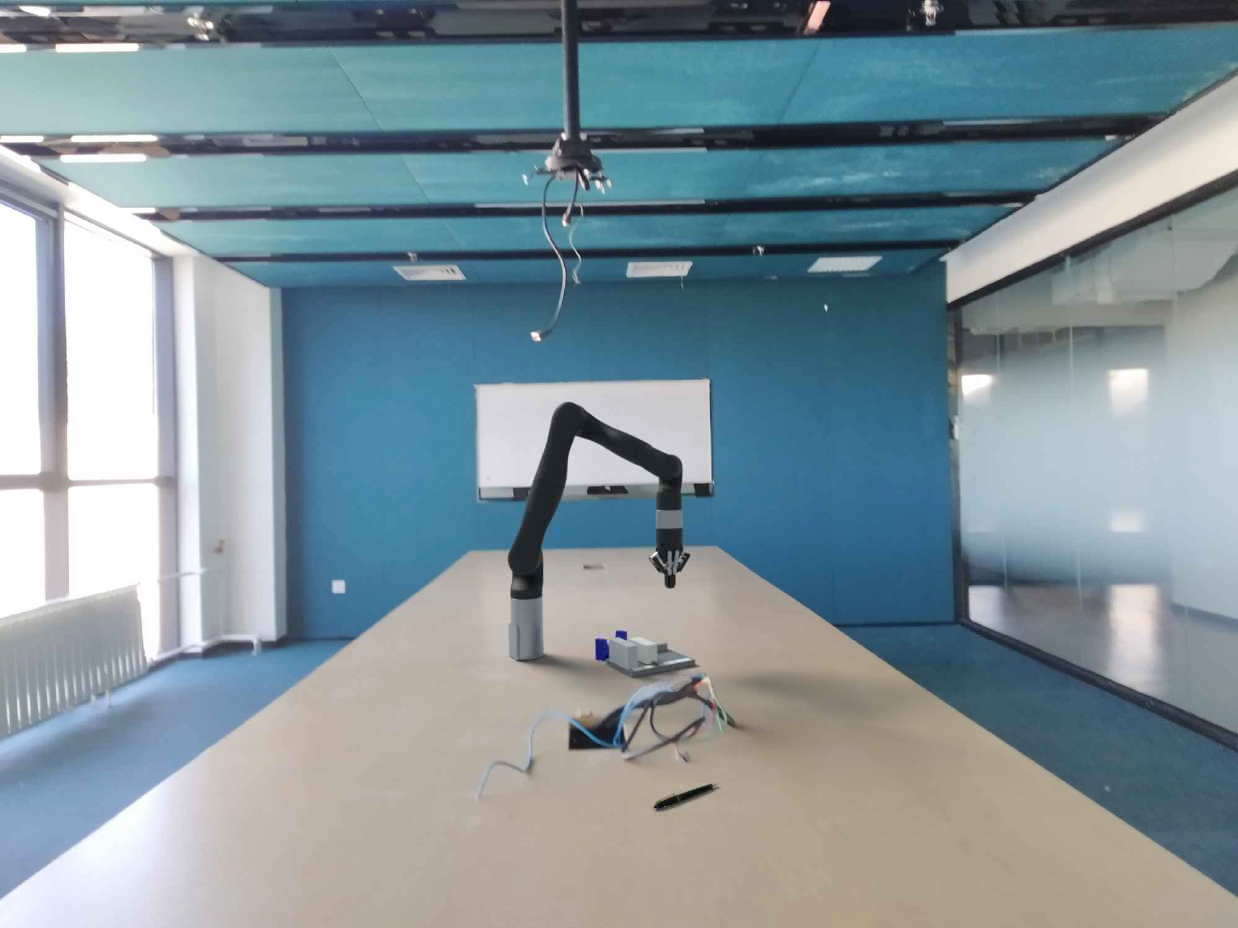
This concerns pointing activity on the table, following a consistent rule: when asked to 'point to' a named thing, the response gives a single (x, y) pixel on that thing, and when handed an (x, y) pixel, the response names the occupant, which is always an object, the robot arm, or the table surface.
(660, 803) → the fountain pen
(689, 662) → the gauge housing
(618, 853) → the table surface
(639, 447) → the robot arm
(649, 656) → the block
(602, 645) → the cable clip
